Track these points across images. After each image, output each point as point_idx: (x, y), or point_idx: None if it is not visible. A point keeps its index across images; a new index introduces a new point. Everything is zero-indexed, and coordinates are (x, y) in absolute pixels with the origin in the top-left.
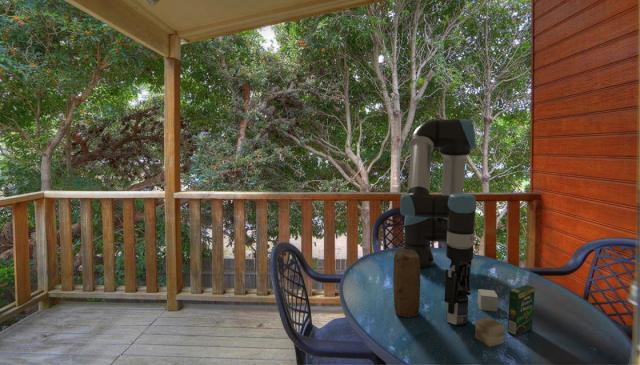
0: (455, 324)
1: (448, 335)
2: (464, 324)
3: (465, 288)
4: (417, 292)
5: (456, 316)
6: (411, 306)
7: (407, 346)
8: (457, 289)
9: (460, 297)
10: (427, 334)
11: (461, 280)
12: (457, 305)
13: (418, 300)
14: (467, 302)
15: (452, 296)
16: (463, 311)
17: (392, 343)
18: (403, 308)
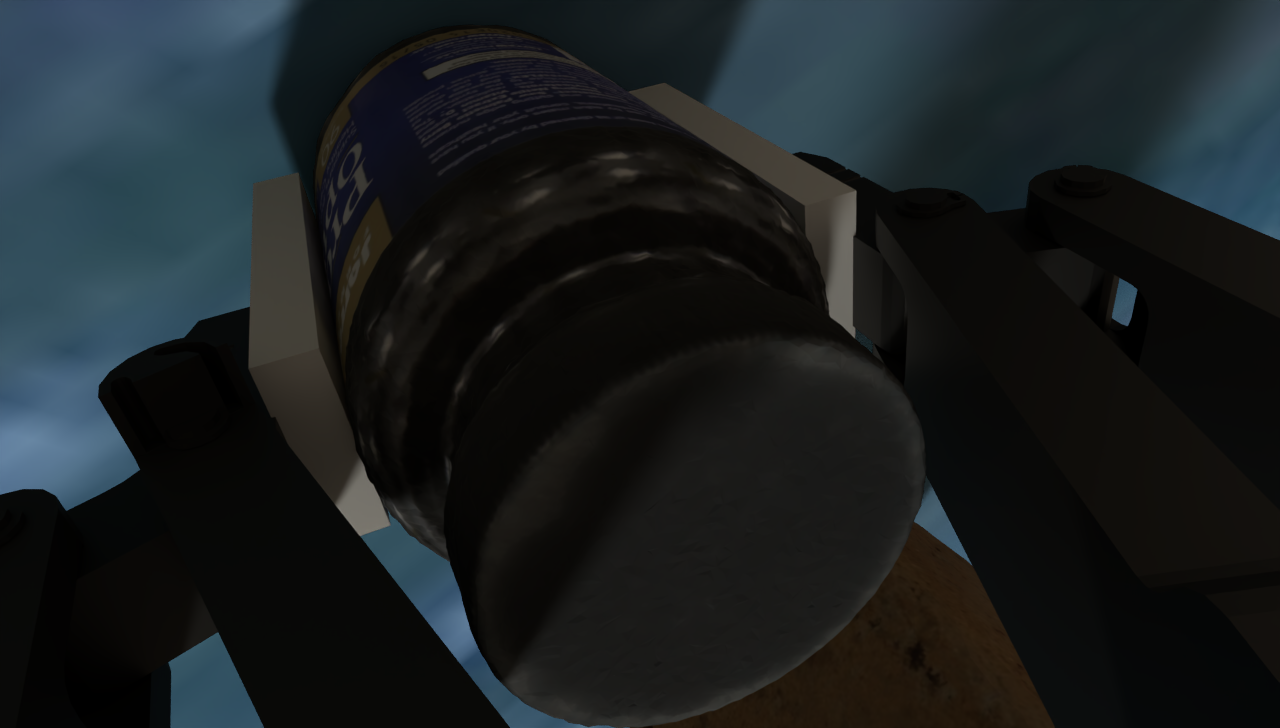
0: (666, 89)
1: (880, 6)
2: (502, 28)
3: (641, 392)
4: (1033, 687)
5: (709, 119)
6: (936, 556)
7: (1266, 125)
8: (1096, 369)
9: (756, 264)
10: (1002, 168)
11: (1225, 589)
12: (787, 187)
13: (933, 592)
14: (548, 126)
15: (1255, 235)
16: (613, 88)
17: (1273, 229)
18: (970, 564)
